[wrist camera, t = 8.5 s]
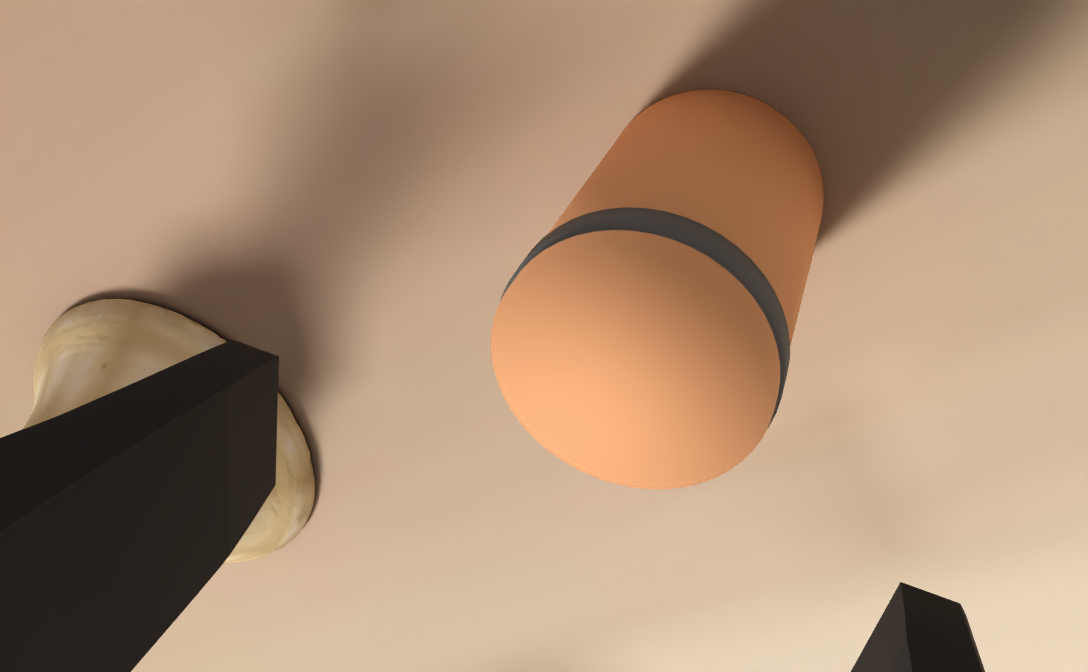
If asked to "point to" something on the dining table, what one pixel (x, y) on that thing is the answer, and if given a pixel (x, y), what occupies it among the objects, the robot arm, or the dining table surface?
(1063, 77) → the dining table surface
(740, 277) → the cap
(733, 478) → the dining table surface
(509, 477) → the dining table surface
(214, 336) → the hand bell
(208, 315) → the dining table surface
